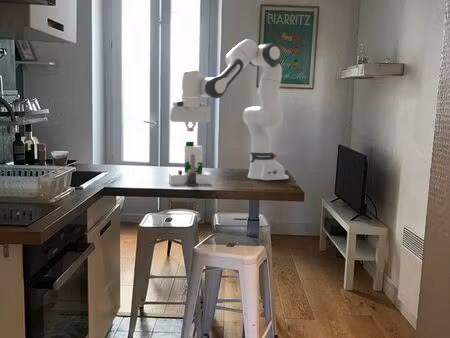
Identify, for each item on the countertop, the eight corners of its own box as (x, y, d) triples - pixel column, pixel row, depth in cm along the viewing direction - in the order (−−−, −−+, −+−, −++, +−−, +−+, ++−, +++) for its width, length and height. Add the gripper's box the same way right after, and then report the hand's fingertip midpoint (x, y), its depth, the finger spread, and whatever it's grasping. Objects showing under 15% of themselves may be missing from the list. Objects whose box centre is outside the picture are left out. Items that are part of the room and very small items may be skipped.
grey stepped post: (196, 184, 249) (197, 153, 246) (198, 186, 244) (199, 155, 241) (186, 185, 247) (186, 153, 245) (188, 186, 242) (188, 155, 240)
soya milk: (187, 178, 268) (187, 141, 265) (203, 178, 267) (204, 141, 264) (182, 180, 260) (183, 142, 257) (199, 181, 258) (200, 143, 255)
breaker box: (207, 181, 259) (207, 168, 258) (210, 184, 251) (211, 171, 250) (168, 182, 253) (169, 169, 252) (171, 185, 246) (171, 172, 245)
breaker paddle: (190, 172, 253) (190, 169, 253) (191, 173, 250) (191, 170, 250) (188, 172, 253) (188, 169, 252) (189, 173, 250) (189, 170, 250)
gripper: (209, 103, 252) (209, 131, 254) (169, 102, 247) (169, 130, 249) (212, 103, 246) (212, 131, 248) (171, 102, 241) (171, 131, 243)
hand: (190, 131), depth 248 cm, fingers closed
